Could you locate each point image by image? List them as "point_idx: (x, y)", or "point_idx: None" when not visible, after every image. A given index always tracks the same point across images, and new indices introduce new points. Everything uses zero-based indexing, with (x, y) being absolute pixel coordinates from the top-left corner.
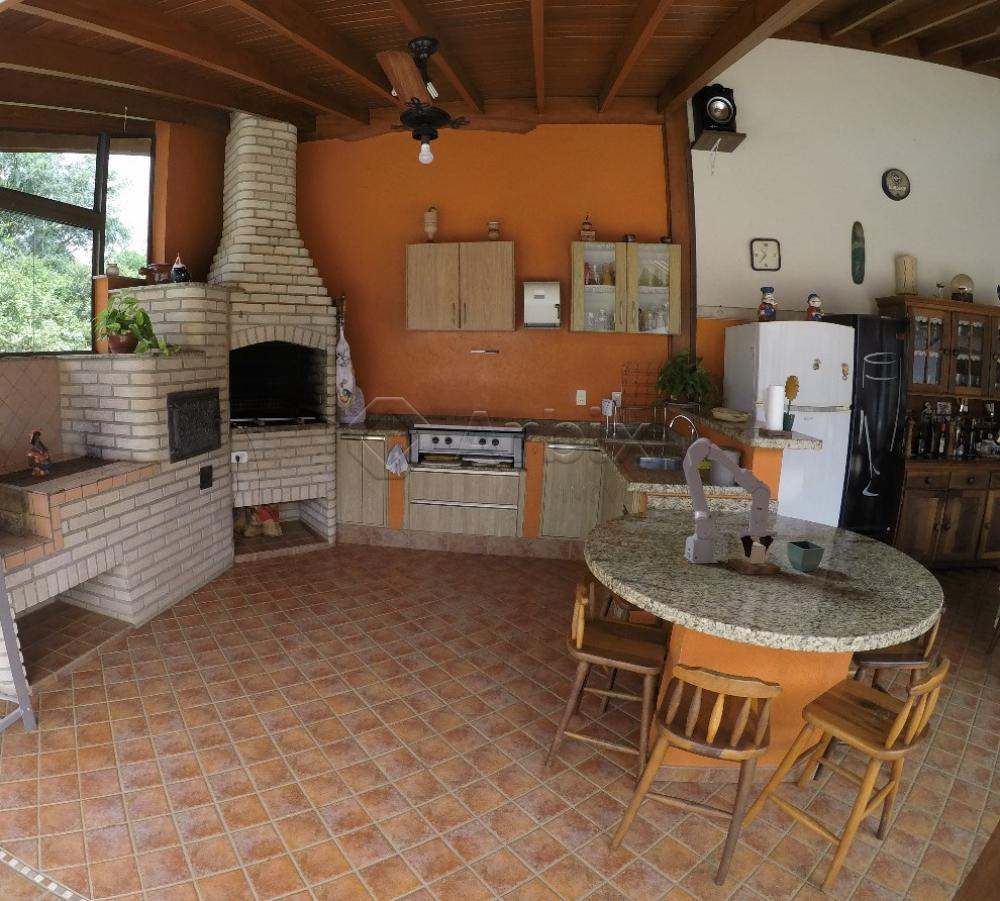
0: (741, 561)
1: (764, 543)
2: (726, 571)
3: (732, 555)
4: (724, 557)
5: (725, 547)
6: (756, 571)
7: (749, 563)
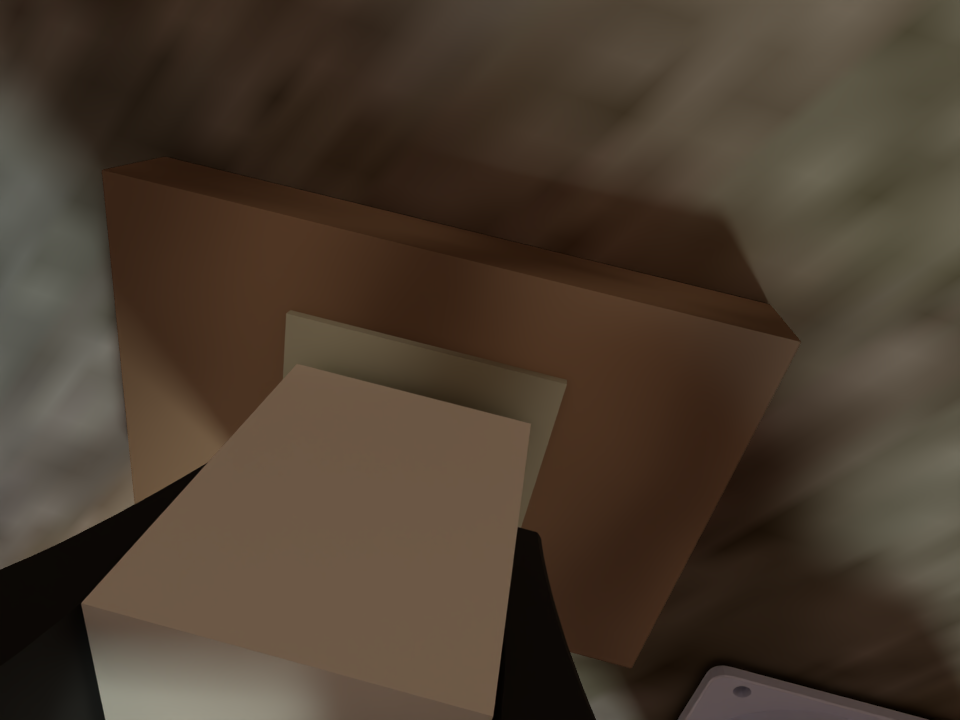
0: None
1: (30, 715)
2: (886, 463)
3: None
4: None
5: None
6: (543, 262)
7: None
